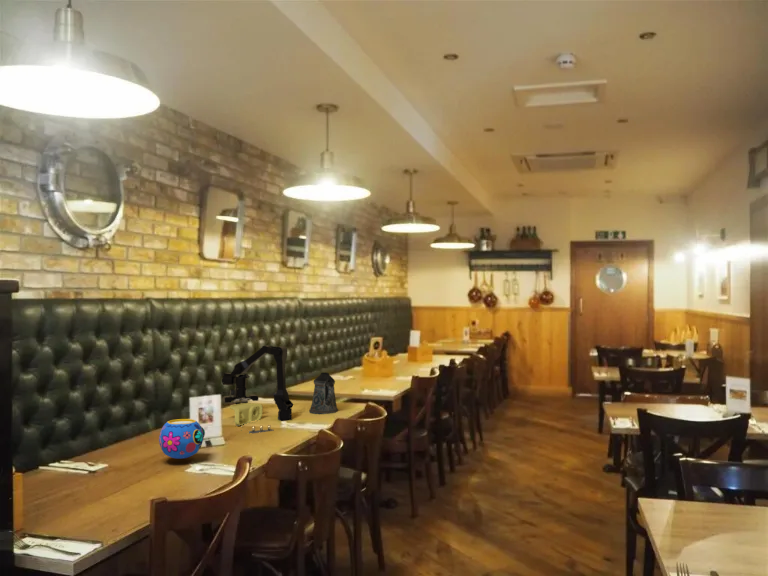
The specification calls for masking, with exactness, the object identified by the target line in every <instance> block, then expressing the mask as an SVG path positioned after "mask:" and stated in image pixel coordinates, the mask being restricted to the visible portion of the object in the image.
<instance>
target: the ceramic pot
mask: <svg viewBox="0 0 768 576" xmlns="http://www.w3.org/2000/svg"><path fill="white" fill-rule="evenodd" d="M205 435H206V432H205V428H203V426H201V424H200V423H199V422H198V421H197V420H195V419H192V418H191V419H190V418H179V419H171V420H168V421H166V423H164V425H162V428H161V430H160V432H159V436H158V444H159V446H160V449H161V450H162V453H163V454H164V455H166V456H167V457H168V458H172V459H180V460H181V459H187V458H190V457H192V456H194V455H195V454H197V453H198V452H199V451H200V450H201V447H202V446H203V442H204V439H205V438H204V437H205Z"/></svg>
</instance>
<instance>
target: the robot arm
mask: <svg viewBox="0 0 768 576" xmlns="http://www.w3.org/2000/svg"><path fill="white" fill-rule="evenodd" d="M267 354H268V355H273V359H274V361H275V363H276V364H275V365H276V389H277V390H276V392H273V401H274V404H275V405H276V406H277V409H278V411H277V420H279V421H280V422H285V421H293V418H292V415H293V414H292V413H293V412H292V411H293V410H292V409H293V406H294V403H293V402H292V401H291V400H290V396H289V392H288V390H287V387H286V386H287V383H286V378H287V377H286V361H287V357H288V349H287V347H286V346H275V345H274V346H273V345H268V344H267V345H263V346H261V347H260V348H259V349H258V350H256V352H255V353H253V354H251V355H250V356H249V357H248V358H247V359H245V360H242V361H240V362H238V363H236V364H235V365H234V367H233V370H232V371H231V373H230V372H224V373H223V376H222V378H221V384H222V385H223V386H234V385H235V388H234V389H233V388H232V389H230V390H229V395H224V396H222V402H223V403H231V402H233V404H234V405H236V404H241V403H249V401H250V400H251V401H253V402H256V401H259V395H256V394H248V396H247V379H248V378H250V377H251V376H250V375H249V374H248V373H247V372H248V371H249V370H250V368H252V366H253V365H254V364H255V363H256V362H257V361H259V360H260V359H262V358H263V357H264V356H265V355H267Z"/></svg>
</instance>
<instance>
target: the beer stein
mask: <svg viewBox="0 0 768 576" xmlns="http://www.w3.org/2000/svg"><path fill="white" fill-rule="evenodd" d="M335 383H336V381H335V379H334V378H333V377H332V376H331V375H330V373H329V372H320V374H319V375H318V376H317V377H316V378H314V380H313V384H314V389H313V395H312V402H311V405H310V408H309V411H308V412H309V413H310V414H313V415H329V414H335V413H338V411H339V408H338V406H337V405H338V404H337V401H336V394H335V393H336V392H335Z"/></svg>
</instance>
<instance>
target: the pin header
mask: <svg viewBox="0 0 768 576" xmlns="http://www.w3.org/2000/svg"><path fill="white" fill-rule="evenodd" d="M248 431H249V433H248V434H250V433H252V434H258V433H259V432H260V433H265V432H273V431H274V429H271V424H268V425H267V429H264V426H263V425H259V430H256V426H255V425H252V426H251V430H248Z"/></svg>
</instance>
